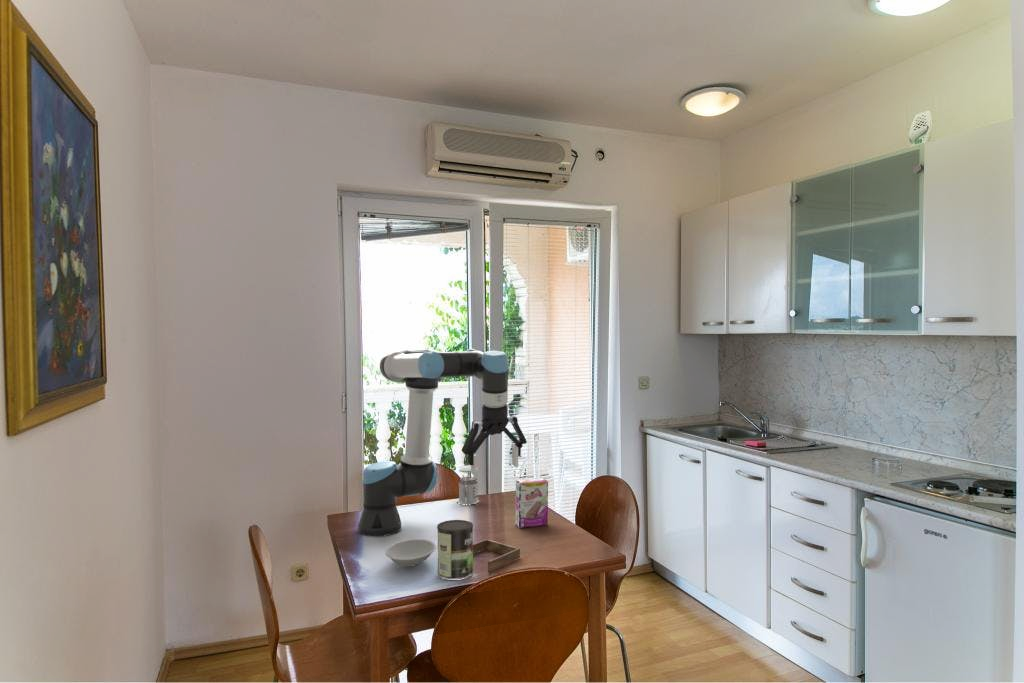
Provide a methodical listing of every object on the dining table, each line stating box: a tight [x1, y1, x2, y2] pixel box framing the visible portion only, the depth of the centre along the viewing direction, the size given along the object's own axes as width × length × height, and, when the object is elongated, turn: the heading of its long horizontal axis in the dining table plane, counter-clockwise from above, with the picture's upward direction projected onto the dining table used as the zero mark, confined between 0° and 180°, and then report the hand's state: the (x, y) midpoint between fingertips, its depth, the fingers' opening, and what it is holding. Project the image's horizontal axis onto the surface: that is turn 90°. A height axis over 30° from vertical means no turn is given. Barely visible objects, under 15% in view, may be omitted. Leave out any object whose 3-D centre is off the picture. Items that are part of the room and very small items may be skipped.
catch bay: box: [473, 538, 521, 573], centre depth 179 cm, size 14×14×3 cm
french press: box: [457, 462, 480, 506], centre depth 242 cm, size 10×12×25 cm
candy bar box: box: [514, 478, 549, 529], centre depth 212 cm, size 11×5×16 cm, turn 108°
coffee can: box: [436, 519, 474, 580], centre depth 168 cm, size 10×10×14 cm
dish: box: [385, 538, 437, 567], centre depth 174 cm, size 18×14×5 cm
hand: (494, 469), depth 176 cm, fingers open, 13 cm apart
